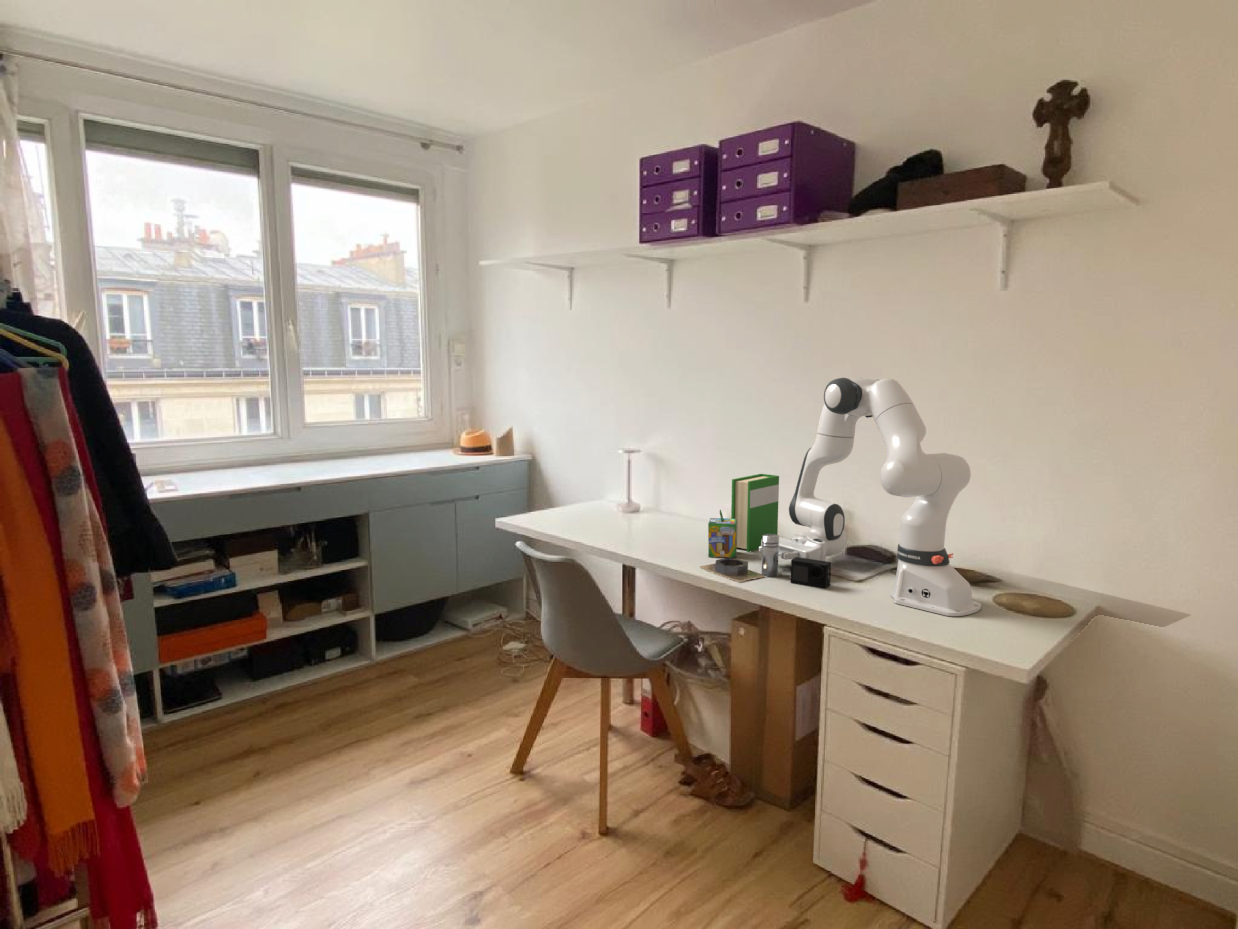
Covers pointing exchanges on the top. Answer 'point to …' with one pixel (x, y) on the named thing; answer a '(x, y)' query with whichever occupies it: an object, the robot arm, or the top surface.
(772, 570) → the piston
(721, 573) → the ring board
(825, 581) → the digital camera
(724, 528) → the chalk box
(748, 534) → the hardback book
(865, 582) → the top surface
